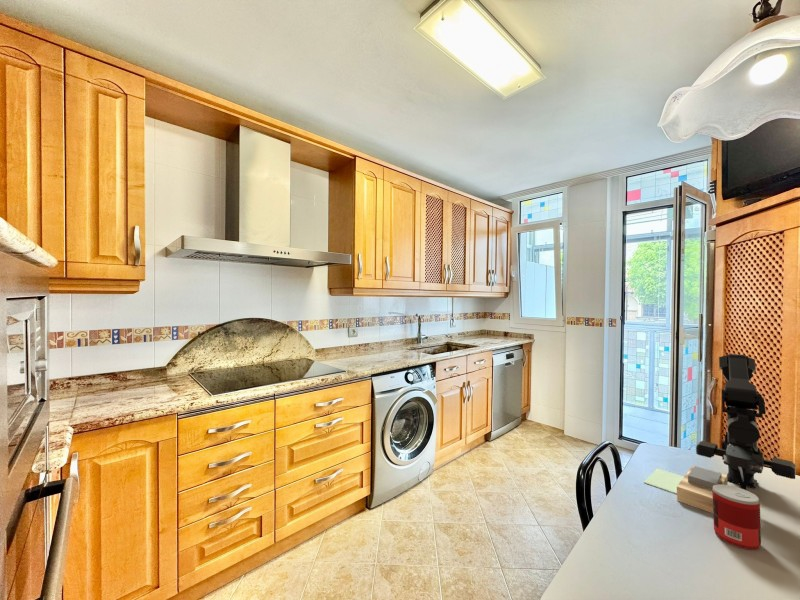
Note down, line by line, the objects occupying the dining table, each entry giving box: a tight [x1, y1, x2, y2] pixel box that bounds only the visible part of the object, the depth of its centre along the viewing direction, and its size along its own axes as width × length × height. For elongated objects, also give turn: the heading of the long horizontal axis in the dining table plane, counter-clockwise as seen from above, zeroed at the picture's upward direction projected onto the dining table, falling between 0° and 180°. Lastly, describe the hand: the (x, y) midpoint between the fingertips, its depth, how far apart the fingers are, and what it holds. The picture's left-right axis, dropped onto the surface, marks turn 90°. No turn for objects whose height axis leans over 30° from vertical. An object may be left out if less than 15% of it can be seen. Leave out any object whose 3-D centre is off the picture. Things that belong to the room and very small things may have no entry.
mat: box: [643, 468, 685, 495], centre depth 105 cm, size 14×9×1 cm, turn 128°
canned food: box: [712, 484, 762, 551], centre depth 79 cm, size 8×8×11 cm
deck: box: [676, 465, 728, 514], centre depth 98 cm, size 20×8×4 cm, turn 128°
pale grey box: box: [688, 465, 723, 490], centre depth 97 cm, size 9×6×2 cm, turn 128°
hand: (743, 489), depth 91 cm, fingers closed
